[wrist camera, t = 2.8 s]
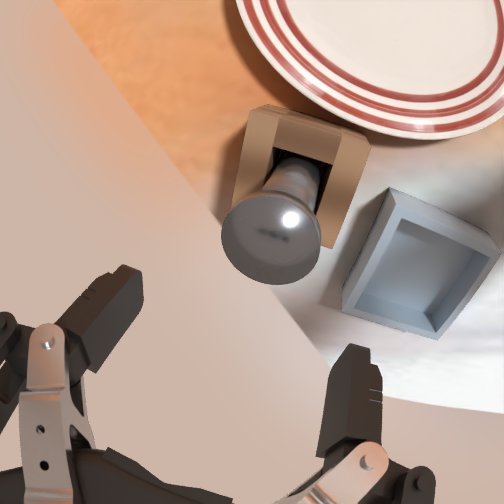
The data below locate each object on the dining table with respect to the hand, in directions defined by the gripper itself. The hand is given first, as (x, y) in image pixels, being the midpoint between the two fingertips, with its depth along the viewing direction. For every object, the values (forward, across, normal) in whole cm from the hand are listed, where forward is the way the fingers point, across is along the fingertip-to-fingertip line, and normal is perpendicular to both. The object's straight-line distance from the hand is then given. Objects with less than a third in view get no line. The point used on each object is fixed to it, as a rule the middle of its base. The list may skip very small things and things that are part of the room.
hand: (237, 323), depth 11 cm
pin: (+20, 0, 0) cm, 20 cm away
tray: (+20, -15, +6) cm, 26 cm away
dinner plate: (+21, -4, -19) cm, 28 cm away
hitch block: (+20, 0, 0) cm, 20 cm away
